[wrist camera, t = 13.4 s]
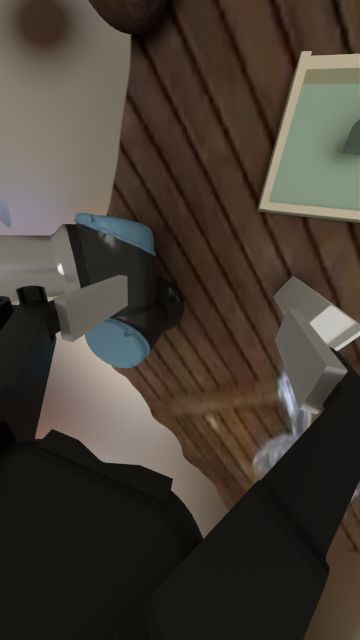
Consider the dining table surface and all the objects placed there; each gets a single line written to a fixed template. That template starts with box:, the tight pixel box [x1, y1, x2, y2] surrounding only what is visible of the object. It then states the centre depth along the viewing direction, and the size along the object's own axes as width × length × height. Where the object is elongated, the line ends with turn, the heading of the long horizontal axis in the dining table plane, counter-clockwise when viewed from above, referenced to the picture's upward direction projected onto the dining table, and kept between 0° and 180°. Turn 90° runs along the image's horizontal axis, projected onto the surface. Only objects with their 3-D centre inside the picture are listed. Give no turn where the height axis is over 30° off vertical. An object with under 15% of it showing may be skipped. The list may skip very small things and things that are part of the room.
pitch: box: [257, 51, 360, 223], centre depth 28 cm, size 25×18×5 cm
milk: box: [273, 276, 360, 351], centre depth 32 cm, size 6×6×22 cm
